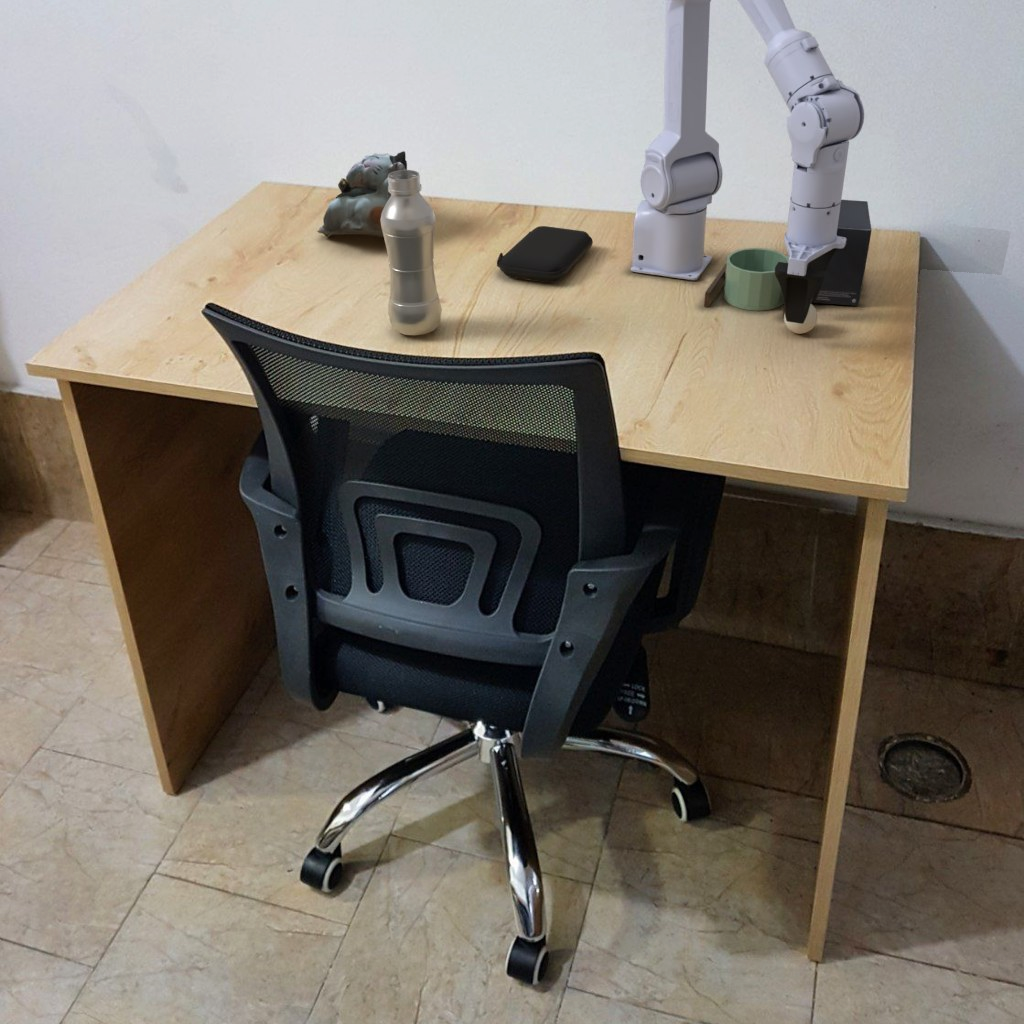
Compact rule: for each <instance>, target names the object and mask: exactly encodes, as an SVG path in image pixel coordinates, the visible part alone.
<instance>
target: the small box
mask: <svg viewBox="0 0 1024 1024" xmlns="http://www.w3.org/2000/svg"><path fill="white" fill-rule="evenodd" d="M872 229H873V228H872V224H871V217H870V210H869V202H868V201H867V200H854V199H852V200H851V199H841V205H840V213H839V220H838V227H837V236H839V237H845V238H846V244H845V246H844V248H841V249H839V248H838V249H837V250H836V252H835V253H834V255H833V256H832V258H831V260H830V263H829V265H828V268H827V270H826V273H825V277H824V280H823V283H822V286H821V289H820V291H819V294H818V296H817V298H812V300H811V304H826V305H839V306H840V305H841V306H856V307H858V306H859V305H860V304H859V303H860V298H861V293H862V290H863V284H864V278H865V271H866V266H867V262H868V261H867V260H868V255H869V248H870V244H871V236H872Z"/></svg>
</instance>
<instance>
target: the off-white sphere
mask: <svg viewBox="0 0 1024 1024" xmlns="http://www.w3.org/2000/svg"><path fill="white" fill-rule="evenodd" d="M818 316H819V315H818V311H817V309H816V307H815V306H814V305H813V303H811V304H810V308H809V311H808V314H807V317H806V319H805V321H804V323H803V324H801V323H794V322H787V321H786V317H785V314H784V318H783V322H784V324H785V327H786V328H787V329H788V330H789V331H790V332H792V333H793V334H798V335H800V334H801V335H802V334H806V333H808V332H811V330H812V329H814V327H815V326H816V325H817V322H818V318H819V317H818Z"/></svg>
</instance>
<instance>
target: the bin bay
mask: <svg viewBox="0 0 1024 1024" xmlns="http://www.w3.org/2000/svg"><path fill="white" fill-rule="evenodd" d="M725 271H726V263H724V265H723V267H722V268H721V270H719V273H718V274H717V275H716V276H715V278H714V279H713V280H712V282H711V284H710V285H709V287H707V289H706V291H705V293H704V304H703V305H704V308H709V307H710V306H711V305H712V303H713V302H714V300H715V299H716V297H717V296H718V295H719V293H720V291H721V290H722V288H724V283H725ZM784 314H785V310H784V309H783V313H782V319H784Z"/></svg>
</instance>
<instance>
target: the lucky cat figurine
mask: <svg viewBox="0 0 1024 1024" xmlns="http://www.w3.org/2000/svg"><path fill="white" fill-rule="evenodd" d="M406 158H407V157H406V151H405V150H402V151H400V152H397V154H396V155H392V154H389V153H373V154H370V155H365V156H364V158H362V159H361V160H360V161H358V162H356V163H354V164H353V165H352V166H351V168H350V169H349V170H348V172H347V174H346V176H345V177H344V178H340V180H339V182H338V184H337V187H338V189H339V190H340V192H341V193H339V194H337V195H336V197H335V199H334V200H332V201H330V202H329V204H328V207H327V209H326V211H325V212H324V215H323V219H322V220H323V225H322V226H320V227H319V228H318V230H316V232H317V233H318V234H323V235H324V236H325V237H329V236H331V235H364V236H370V237H380V238H384V235H383V231H382V227H381V221H380V219H381V214H382V211H383V209H384V207H385V205H386V203H387V201H388V200H389V198H390V197H391V193H389V191H388V186H389V184H388V174H390V173H391V172H394V171H399V170H408V162H407V160H406Z"/></svg>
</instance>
